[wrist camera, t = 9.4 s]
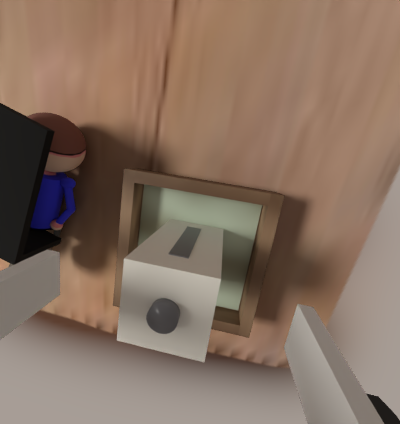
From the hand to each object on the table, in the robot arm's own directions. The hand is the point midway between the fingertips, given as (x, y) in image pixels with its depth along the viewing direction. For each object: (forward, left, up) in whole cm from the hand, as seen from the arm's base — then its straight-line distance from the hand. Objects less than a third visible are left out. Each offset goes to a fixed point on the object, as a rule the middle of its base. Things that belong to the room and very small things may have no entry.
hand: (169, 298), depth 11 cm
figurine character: (-2, -15, -10) cm, 18 cm away
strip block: (0, 0, -8) cm, 9 cm away
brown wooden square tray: (0, 0, -10) cm, 10 cm away
